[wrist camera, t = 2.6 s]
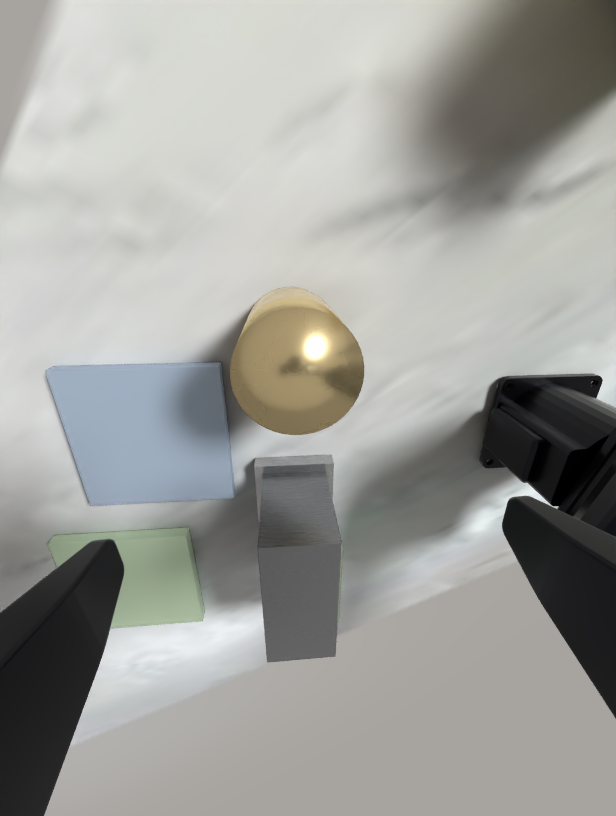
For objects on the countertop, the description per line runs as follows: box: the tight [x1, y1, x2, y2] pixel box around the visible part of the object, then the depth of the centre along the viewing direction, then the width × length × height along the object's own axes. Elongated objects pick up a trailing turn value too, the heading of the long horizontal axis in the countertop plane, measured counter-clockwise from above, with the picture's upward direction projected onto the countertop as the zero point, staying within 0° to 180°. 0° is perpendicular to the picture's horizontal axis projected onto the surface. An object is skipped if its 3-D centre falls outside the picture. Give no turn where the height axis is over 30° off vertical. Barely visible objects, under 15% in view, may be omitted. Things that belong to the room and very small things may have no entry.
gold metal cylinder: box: [230, 287, 364, 435], centre depth 16 cm, size 5×5×7 cm
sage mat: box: [47, 527, 205, 628], centre depth 25 cm, size 9×9×1 cm
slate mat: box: [45, 362, 235, 506], centre depth 21 cm, size 9×9×1 cm
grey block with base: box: [254, 455, 343, 662], centre depth 21 cm, size 5×10×7 cm, turn 0°
